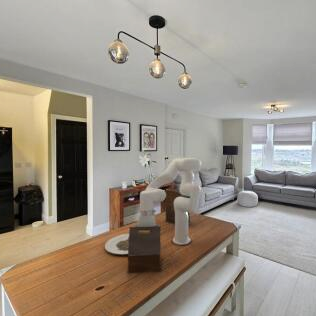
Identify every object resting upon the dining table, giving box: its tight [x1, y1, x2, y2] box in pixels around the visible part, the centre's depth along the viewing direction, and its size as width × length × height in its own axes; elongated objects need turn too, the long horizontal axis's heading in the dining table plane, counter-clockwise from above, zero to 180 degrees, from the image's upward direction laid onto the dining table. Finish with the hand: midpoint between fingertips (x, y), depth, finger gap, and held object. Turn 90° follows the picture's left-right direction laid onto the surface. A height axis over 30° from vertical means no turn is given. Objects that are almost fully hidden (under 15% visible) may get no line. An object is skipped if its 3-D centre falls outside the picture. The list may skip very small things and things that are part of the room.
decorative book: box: [165, 188, 191, 226], centre depth 174 cm, size 23×7×30 cm, turn 56°
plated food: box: [104, 232, 129, 255], centre depth 132 cm, size 30×30×3 cm
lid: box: [127, 225, 162, 256], centre depth 103 cm, size 14×17×5 cm
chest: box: [127, 242, 162, 273], centre depth 110 cm, size 13×17×9 cm
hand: (146, 241), depth 113 cm, fingers open, 8 cm apart
